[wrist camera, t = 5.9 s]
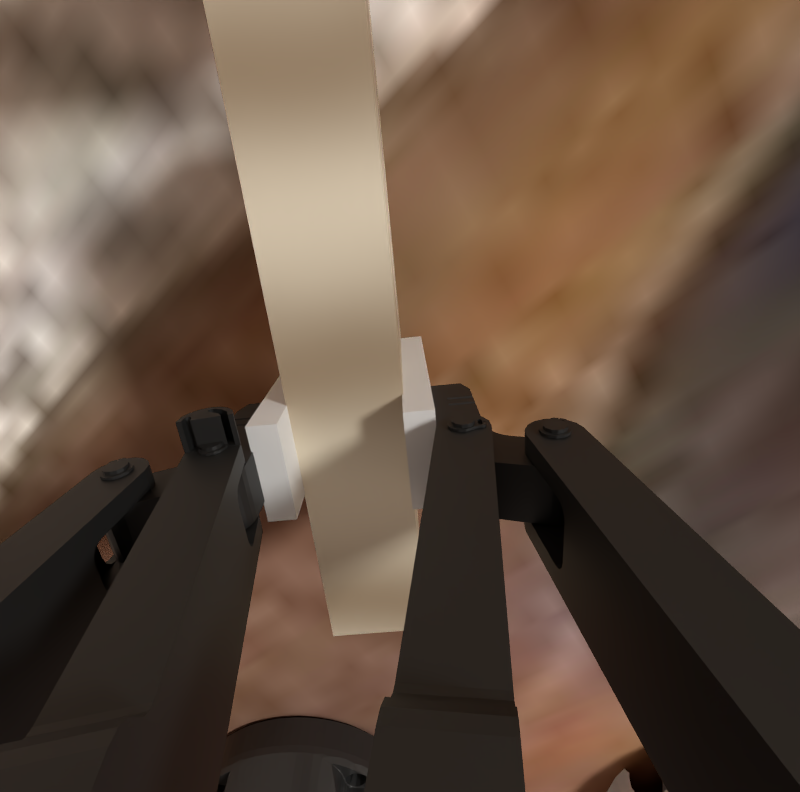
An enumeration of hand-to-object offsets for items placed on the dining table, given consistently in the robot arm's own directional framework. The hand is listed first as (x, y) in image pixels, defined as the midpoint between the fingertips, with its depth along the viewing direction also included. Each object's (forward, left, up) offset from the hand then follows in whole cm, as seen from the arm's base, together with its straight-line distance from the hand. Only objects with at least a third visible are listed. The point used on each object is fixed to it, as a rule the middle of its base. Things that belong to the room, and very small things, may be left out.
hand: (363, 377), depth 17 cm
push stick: (+2, 0, -1) cm, 2 cm away
